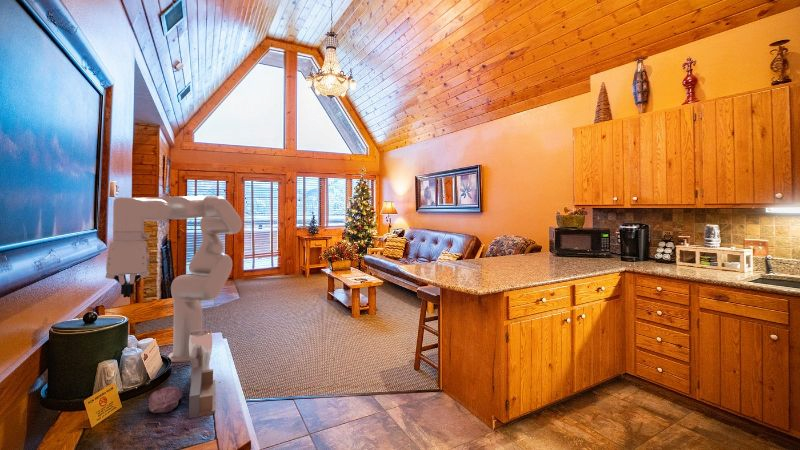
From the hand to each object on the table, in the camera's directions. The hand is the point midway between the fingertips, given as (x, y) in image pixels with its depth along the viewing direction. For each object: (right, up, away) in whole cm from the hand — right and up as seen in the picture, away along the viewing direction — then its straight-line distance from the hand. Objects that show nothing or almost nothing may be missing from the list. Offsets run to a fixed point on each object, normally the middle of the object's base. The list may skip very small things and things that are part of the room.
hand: (127, 296), depth 109 cm
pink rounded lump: (+17, -30, -8) cm, 36 cm away
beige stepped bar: (+26, -30, -4) cm, 40 cm away
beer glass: (+16, -30, +11) cm, 35 cm away
